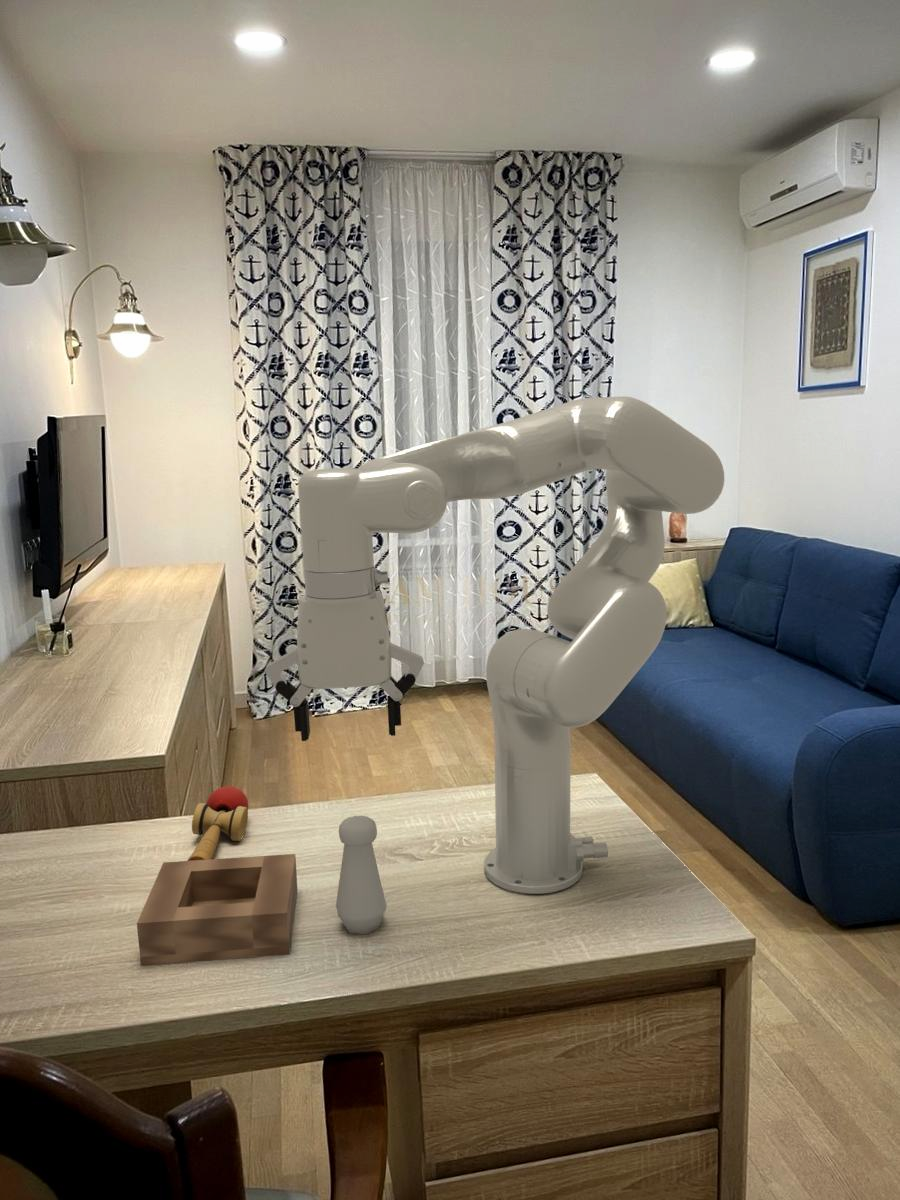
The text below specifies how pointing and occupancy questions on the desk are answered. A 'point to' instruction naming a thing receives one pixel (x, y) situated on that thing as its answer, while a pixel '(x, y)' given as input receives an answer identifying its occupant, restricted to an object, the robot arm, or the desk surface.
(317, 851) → the desk surface
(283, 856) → the socket block
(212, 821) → the kendama
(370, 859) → the grey rounded peg
